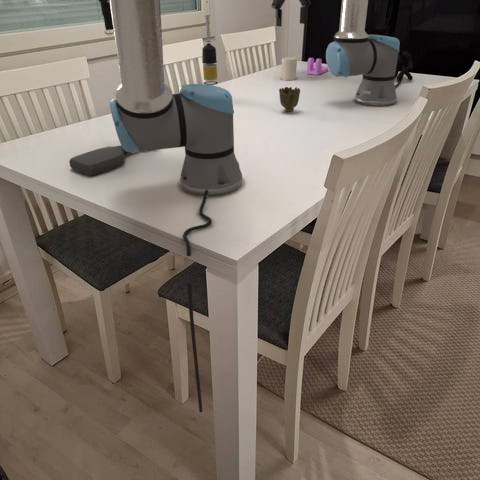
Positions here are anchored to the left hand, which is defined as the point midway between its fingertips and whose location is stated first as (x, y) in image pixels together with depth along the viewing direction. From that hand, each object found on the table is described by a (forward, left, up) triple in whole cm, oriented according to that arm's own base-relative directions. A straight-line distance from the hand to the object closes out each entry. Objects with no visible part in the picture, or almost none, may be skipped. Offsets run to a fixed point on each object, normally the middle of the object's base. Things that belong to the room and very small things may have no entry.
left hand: (127, 31), depth 117 cm
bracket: (+116, -30, -31) cm, 124 cm away
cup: (+46, -33, -31) cm, 65 cm away
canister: (+99, -19, -31) cm, 106 cm away
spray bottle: (-12, +1, -31) cm, 34 cm away
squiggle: (+109, -68, -31) cm, 132 cm away
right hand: (+99, -19, -9) cm, 101 cm away
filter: (+56, +1, -31) cm, 64 cm away
